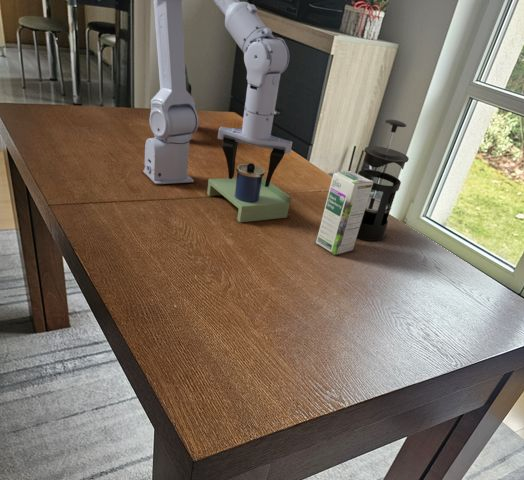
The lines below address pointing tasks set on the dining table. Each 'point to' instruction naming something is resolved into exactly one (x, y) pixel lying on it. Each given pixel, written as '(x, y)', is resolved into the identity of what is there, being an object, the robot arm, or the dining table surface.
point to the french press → (380, 187)
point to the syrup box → (343, 211)
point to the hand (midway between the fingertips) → (249, 181)
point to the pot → (248, 182)
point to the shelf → (267, 207)
